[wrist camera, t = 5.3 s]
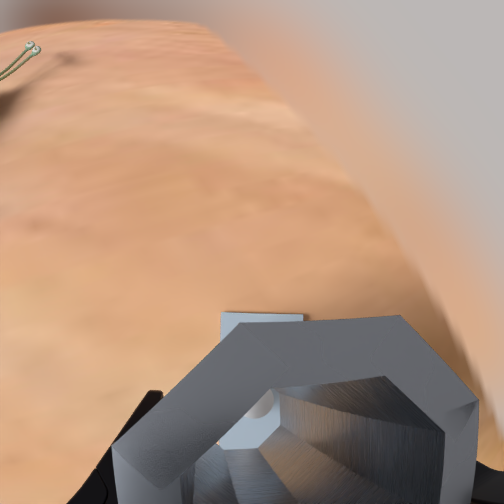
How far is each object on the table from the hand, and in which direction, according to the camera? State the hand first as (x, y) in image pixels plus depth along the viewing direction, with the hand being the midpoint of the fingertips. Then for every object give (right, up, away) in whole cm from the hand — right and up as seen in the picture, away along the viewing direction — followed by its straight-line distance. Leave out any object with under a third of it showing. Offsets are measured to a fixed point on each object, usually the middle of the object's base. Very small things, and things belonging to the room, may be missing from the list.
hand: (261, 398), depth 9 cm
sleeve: (-1, -4, +6) cm, 7 cm away
